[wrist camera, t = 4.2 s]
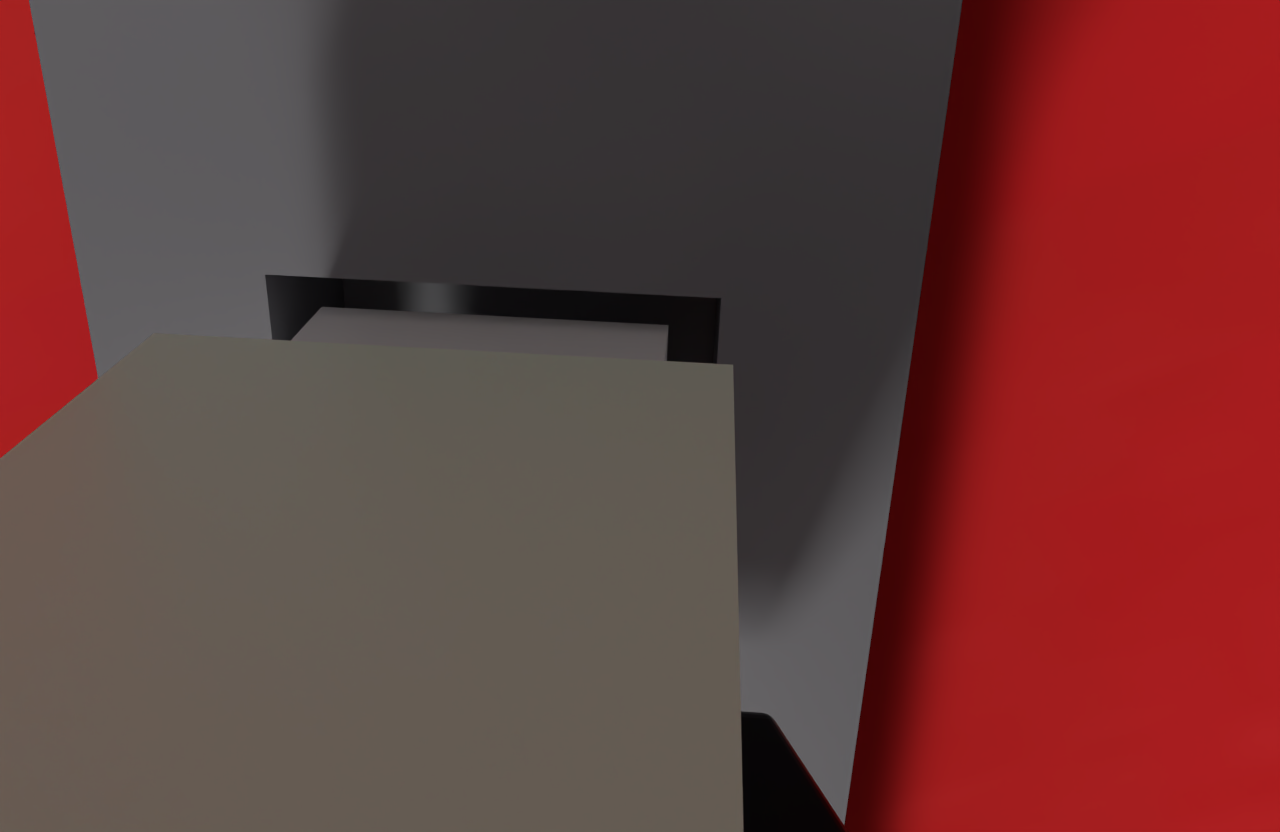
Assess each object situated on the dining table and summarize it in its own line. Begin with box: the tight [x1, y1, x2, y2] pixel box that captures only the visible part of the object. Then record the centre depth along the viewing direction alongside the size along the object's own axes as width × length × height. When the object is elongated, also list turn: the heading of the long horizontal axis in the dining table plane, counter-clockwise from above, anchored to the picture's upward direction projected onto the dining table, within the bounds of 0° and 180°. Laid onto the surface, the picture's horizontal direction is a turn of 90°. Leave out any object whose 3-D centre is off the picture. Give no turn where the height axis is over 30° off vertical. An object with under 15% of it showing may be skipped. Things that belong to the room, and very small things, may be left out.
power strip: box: [29, 0, 962, 824], centre depth 13 cm, size 7×22×4 cm, turn 178°
